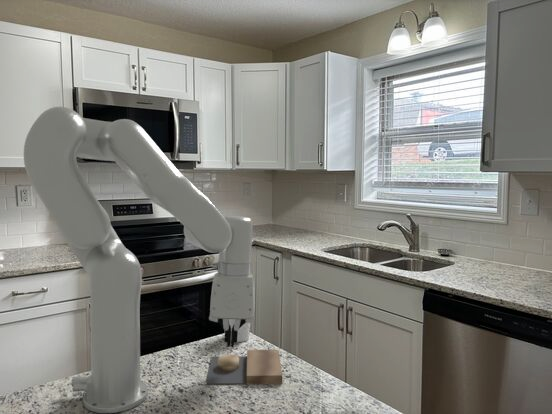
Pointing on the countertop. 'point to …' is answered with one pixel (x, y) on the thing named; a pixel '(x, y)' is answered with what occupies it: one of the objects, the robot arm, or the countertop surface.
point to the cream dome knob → (228, 363)
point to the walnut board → (263, 367)
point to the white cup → (241, 331)
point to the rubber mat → (227, 373)
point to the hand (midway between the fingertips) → (230, 345)
